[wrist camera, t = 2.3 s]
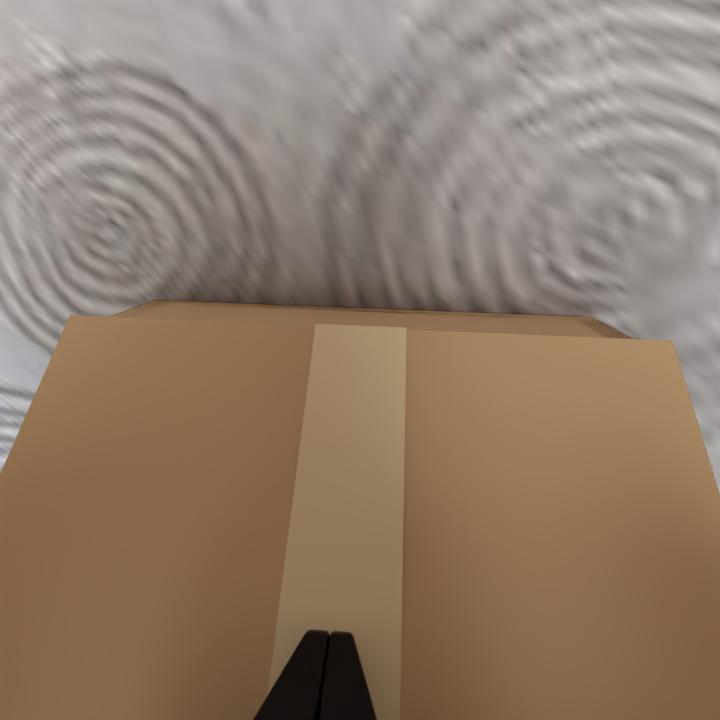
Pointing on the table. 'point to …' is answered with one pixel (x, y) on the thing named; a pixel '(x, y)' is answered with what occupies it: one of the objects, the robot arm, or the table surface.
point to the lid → (358, 524)
